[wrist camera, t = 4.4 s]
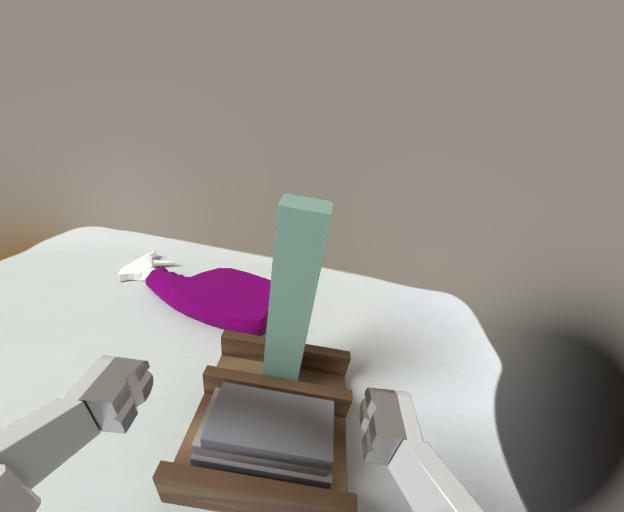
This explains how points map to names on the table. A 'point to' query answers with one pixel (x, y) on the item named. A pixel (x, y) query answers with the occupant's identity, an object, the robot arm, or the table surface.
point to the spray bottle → (208, 294)
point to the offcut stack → (267, 435)
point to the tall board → (294, 281)
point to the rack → (254, 490)
